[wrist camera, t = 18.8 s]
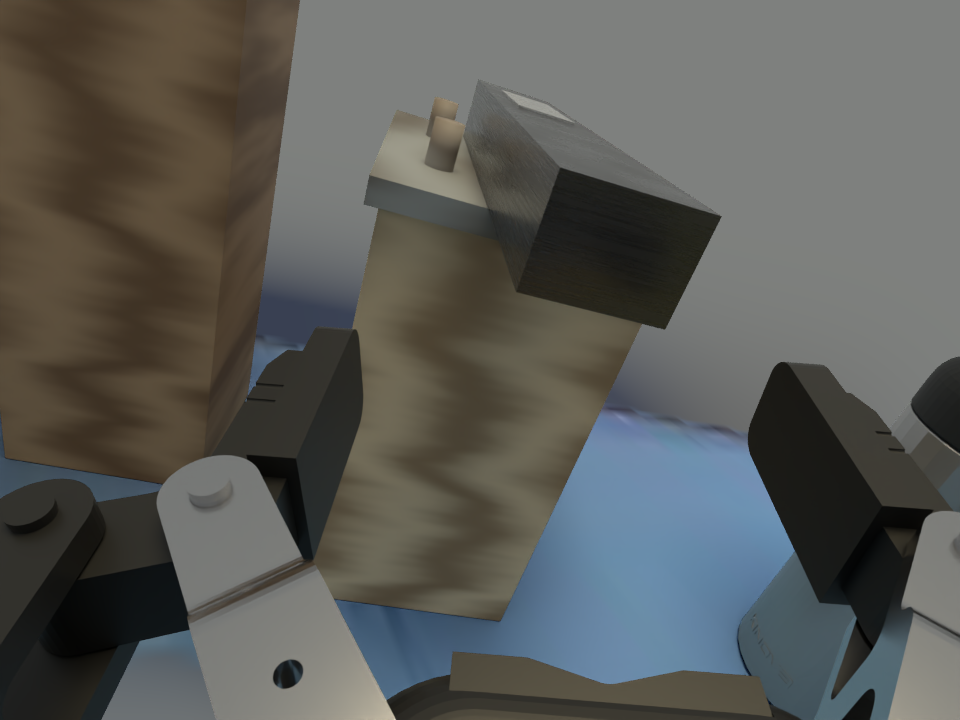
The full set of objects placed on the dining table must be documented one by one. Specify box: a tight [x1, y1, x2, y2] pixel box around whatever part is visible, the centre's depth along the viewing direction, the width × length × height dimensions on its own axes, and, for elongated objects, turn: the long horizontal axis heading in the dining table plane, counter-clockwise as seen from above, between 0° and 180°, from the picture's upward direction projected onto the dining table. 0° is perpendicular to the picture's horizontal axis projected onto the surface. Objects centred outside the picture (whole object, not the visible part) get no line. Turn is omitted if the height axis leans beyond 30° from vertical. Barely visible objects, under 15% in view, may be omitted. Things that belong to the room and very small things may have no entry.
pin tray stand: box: [312, 97, 642, 621], centre depth 32 cm, size 12×17×23 cm
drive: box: [463, 80, 721, 329], centre depth 23 cm, size 4×22×3 cm, turn 4°
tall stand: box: [0, 0, 300, 484], centre depth 30 cm, size 11×11×32 cm
